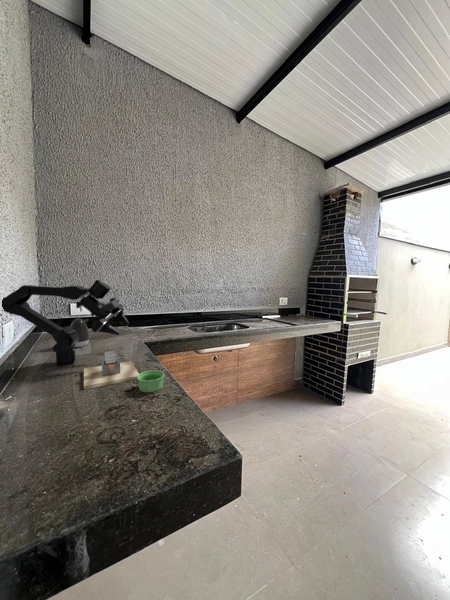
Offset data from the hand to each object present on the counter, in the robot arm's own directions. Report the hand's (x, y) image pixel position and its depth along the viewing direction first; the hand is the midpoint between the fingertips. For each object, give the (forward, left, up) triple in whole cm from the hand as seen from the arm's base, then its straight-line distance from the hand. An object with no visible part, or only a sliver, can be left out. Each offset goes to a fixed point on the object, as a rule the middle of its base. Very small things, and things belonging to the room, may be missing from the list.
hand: (124, 329), depth 108 cm
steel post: (-7, -15, -13) cm, 21 cm away
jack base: (-7, -15, -14) cm, 22 cm away
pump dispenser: (-18, +36, -15) cm, 43 cm away
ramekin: (+4, -33, -15) cm, 37 cm away
